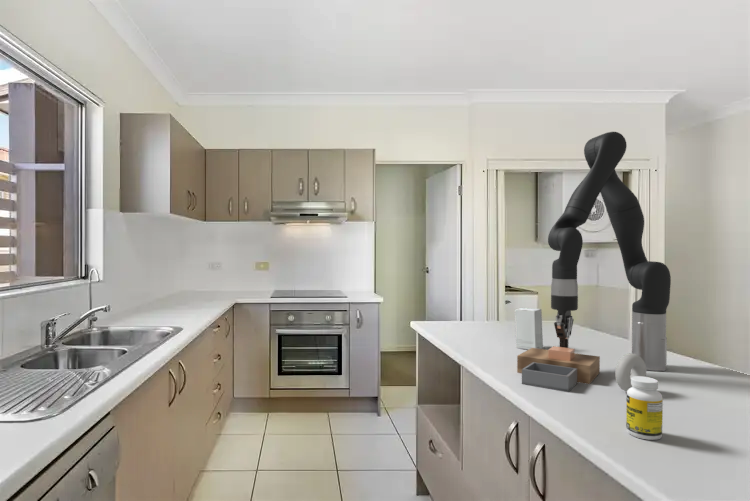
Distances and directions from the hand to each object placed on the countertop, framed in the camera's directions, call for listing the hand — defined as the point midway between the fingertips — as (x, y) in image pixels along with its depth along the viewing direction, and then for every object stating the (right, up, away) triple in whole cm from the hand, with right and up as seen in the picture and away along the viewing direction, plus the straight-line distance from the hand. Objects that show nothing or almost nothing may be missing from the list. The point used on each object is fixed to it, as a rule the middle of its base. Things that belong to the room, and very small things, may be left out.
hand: (563, 350), depth 140 cm
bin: (-9, -6, -13) cm, 17 cm away
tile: (-2, -1, -4) cm, 5 cm away
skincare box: (0, -6, +32) cm, 33 cm away
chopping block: (-2, -6, -2) cm, 7 cm away
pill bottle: (-4, -6, -48) cm, 49 cm away
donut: (+9, -6, -20) cm, 23 cm away
